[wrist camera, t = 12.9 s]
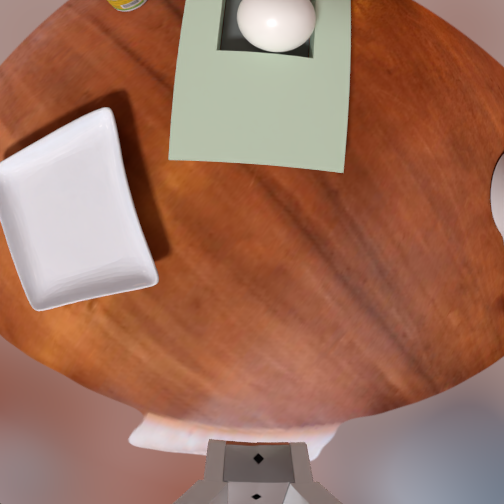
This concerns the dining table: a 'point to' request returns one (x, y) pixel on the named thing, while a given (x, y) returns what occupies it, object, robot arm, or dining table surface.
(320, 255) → the dining table surface
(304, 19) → the ball
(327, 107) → the putting deck
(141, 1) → the supplement bottle
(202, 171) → the dining table surface
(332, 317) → the dining table surface
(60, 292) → the salad plate
